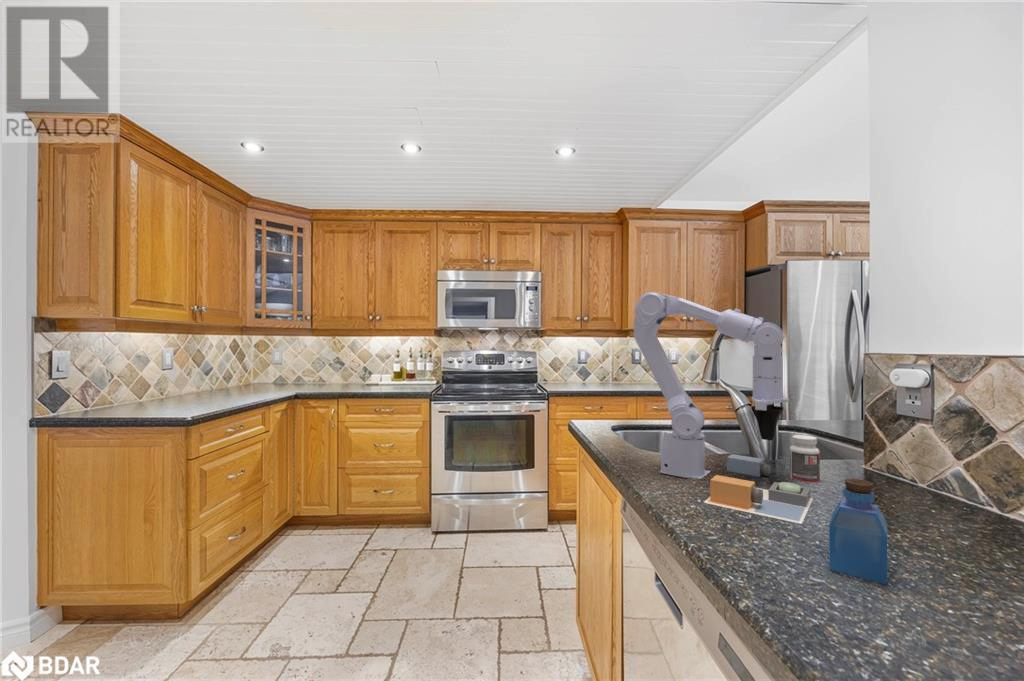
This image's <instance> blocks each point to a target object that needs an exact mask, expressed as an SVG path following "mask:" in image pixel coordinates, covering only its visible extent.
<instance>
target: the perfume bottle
mask: <svg viewBox="0 0 1024 681" xmlns="http://www.w3.org/2000/svg"><path fill="white" fill-rule="evenodd" d="M844 485H845V486H844V487H843V488H842V495H843V497H845V498H841V500H840V501H839V503H838V504H837V506H836V507H835V508H834V510H833V511H832V515H831V517H830V522H829V524H828V526H829V527H828V532H829V535H828V536H829V538H828V542H829V545H828V546H829V547H828V550H829V551H828V552H829V553H828V555H829V557H828V561H829V562H828V564H829V565H828V566H829V567H828V570H829V571H833V572H838V573H841V574H845V575H848V576H853V577H856V578H858V579H859V578H860V579H864V580H868V581H871V582H874V583H878V584H883V585H886V586H887V585H888V521H887V520H886V518H885V516H884V514H883V513H882V511H881V510H880V508H879V507H878V505H877V504H873V503H872V502H875V493H874V491H873V490H872V489H873V486H874V484H873V482H870V481H868V480H864V479H859V478H845V479H844Z"/></svg>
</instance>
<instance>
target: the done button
mask: <svg viewBox="0 0 1024 681" xmlns="http://www.w3.org/2000/svg"><path fill="white" fill-rule="evenodd" d="M778 483H779V490H781V491H786V492H792V493H797V494H800V486H801V485H799V484H797V483H793V482H787V481H786V482H785V481H782V482H778Z"/></svg>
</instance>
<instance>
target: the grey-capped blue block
mask: <svg viewBox="0 0 1024 681" xmlns="http://www.w3.org/2000/svg"><path fill="white" fill-rule="evenodd" d="M726 472H730V473H736V474H740V475H741V474H742V475H746V476H753V477H756V478H757V477H759V478H760V477H761V476H763V477H770V475H771V465H770V464H767V463H766V464H765V459H764V458H759V457H753V456H752V457H751V456H747V455H738V454H732V453H731V454H730V455H728V456H727V457H726Z"/></svg>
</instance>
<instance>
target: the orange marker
mask: <svg viewBox="0 0 1024 681" xmlns="http://www.w3.org/2000/svg"><path fill="white" fill-rule="evenodd" d="M709 487H710V490H709V493H710V495H709V497H710V500H711V501H715V502H720V503H725V504H730V505H734V506H739V507H744V508H749V509H751V507H752V506H753V505H754V503H758V504H762V502H763V490H761V489H762V488H760V489H756V488H757V487H756V481H751V480H745V479H739V478H736V477H729V476H725V475H724V476H723V475H718V474H716V475H714V476H713V477H712V478H711V479H710V485H709Z"/></svg>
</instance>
